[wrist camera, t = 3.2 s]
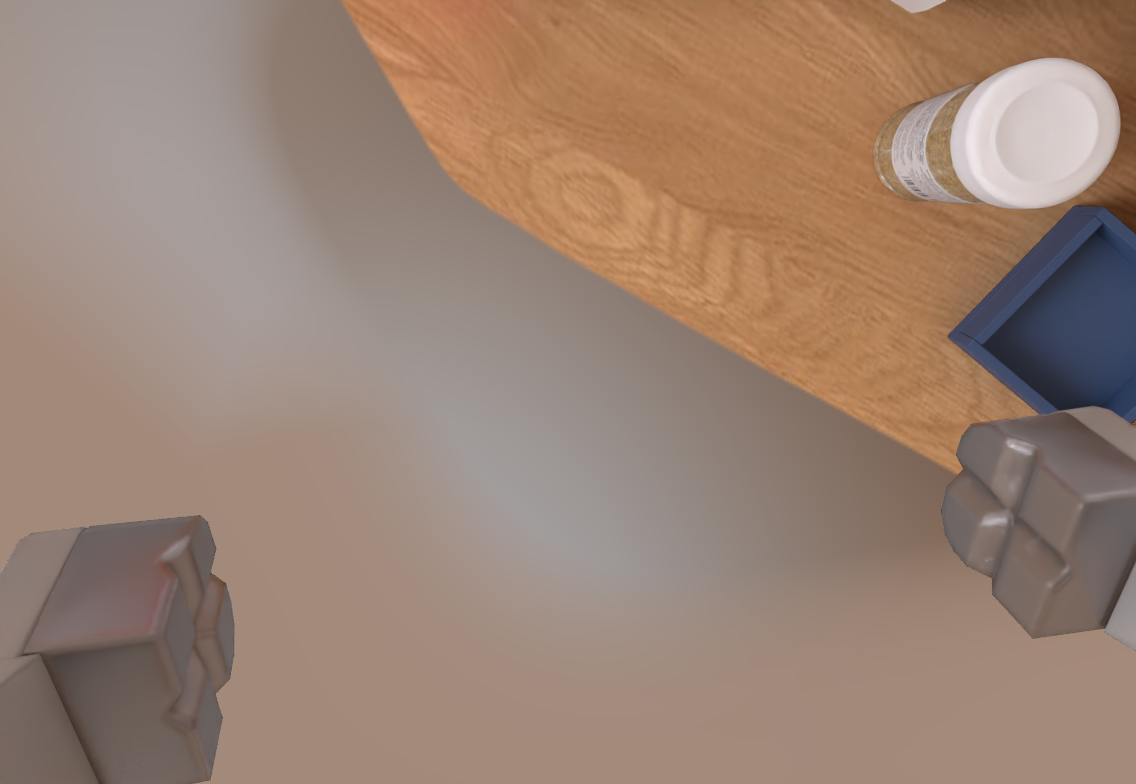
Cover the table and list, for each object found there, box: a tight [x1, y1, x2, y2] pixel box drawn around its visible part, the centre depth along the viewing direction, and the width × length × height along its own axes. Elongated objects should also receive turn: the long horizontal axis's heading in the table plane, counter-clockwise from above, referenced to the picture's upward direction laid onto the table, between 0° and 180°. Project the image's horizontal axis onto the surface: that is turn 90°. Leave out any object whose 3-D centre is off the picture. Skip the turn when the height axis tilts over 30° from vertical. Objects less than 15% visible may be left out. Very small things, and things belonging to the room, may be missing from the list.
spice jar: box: [874, 58, 1120, 209], centre depth 32 cm, size 5×5×14 cm
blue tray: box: [948, 206, 1136, 424], centre depth 38 cm, size 8×8×3 cm
